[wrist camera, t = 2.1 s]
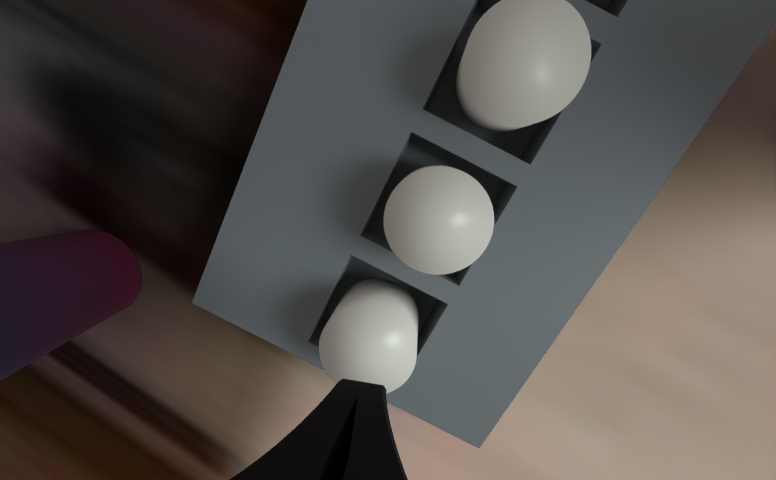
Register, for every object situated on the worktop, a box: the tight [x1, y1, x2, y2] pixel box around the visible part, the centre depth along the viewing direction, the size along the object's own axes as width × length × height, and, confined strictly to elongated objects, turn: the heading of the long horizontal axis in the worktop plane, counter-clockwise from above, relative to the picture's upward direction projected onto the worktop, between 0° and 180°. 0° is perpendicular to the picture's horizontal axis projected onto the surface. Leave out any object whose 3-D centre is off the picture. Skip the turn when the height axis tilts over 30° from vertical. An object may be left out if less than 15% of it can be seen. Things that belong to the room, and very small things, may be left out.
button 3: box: [384, 165, 494, 275], centre depth 15 cm, size 4×4×3 cm
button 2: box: [455, 0, 591, 132], centre depth 13 cm, size 4×4×3 cm
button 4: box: [319, 278, 418, 394], centre depth 16 cm, size 4×4×3 cm
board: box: [192, 0, 776, 448], centre depth 16 cm, size 16×25×3 cm, turn 154°
